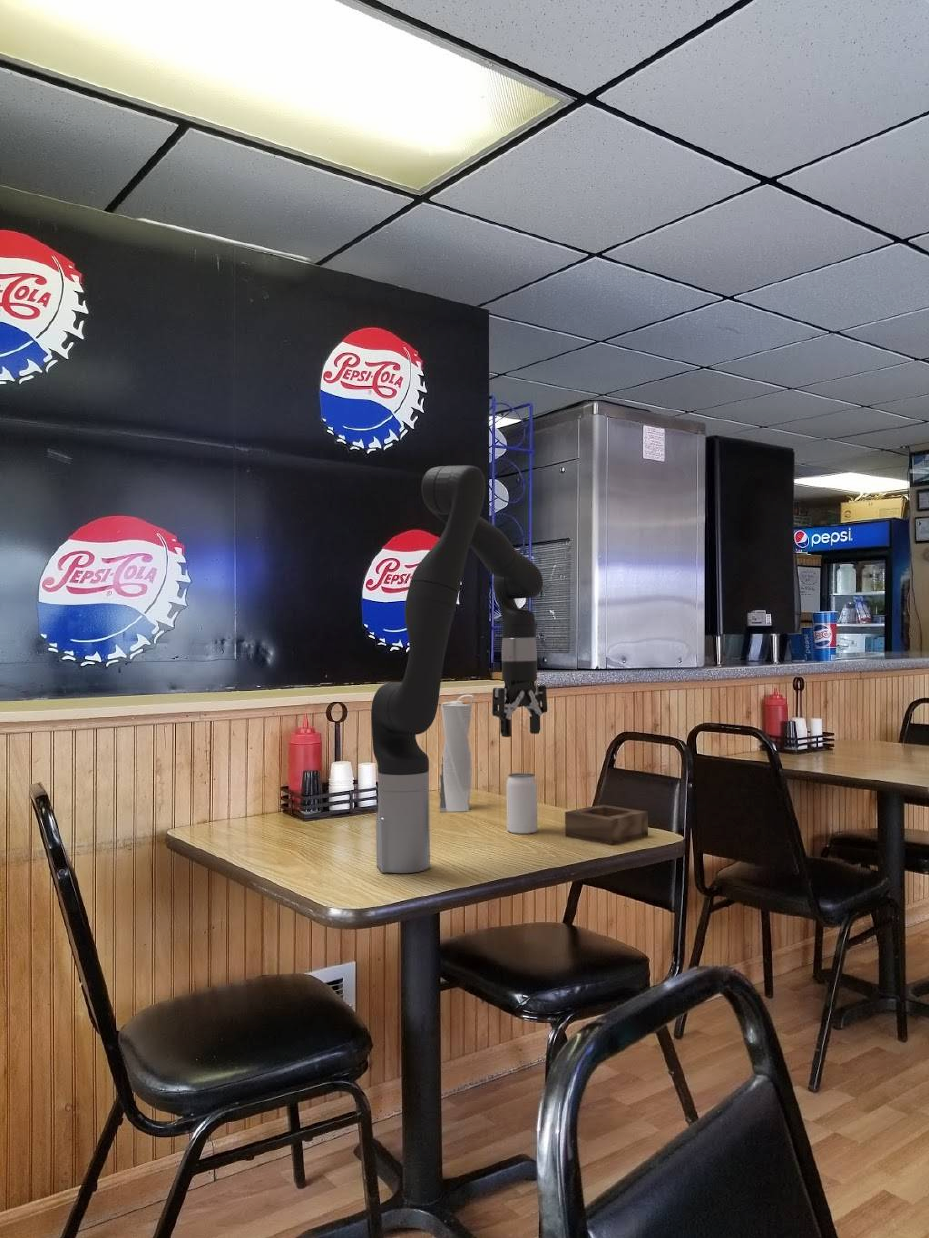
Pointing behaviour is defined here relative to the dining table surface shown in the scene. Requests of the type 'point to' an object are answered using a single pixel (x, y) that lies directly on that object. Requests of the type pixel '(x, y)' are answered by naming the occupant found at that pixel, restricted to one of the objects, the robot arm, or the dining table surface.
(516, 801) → the can
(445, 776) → the grey water bottle
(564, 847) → the dining table surface
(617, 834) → the box
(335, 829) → the dining table surface
